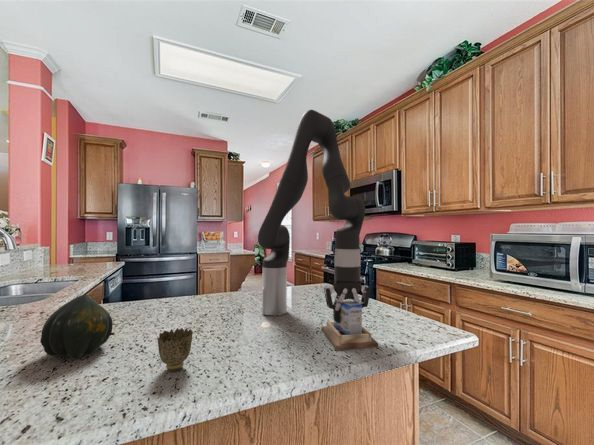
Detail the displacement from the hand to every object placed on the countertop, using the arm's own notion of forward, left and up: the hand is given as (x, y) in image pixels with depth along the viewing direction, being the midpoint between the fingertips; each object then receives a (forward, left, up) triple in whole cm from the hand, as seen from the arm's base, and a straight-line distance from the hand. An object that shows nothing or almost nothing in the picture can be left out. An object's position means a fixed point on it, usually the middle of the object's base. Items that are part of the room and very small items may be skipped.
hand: (347, 321), depth 83 cm
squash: (-72, +2, -5) cm, 72 cm away
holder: (0, 0, -5) cm, 5 cm away
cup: (-45, -11, -5) cm, 47 cm away
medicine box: (0, 0, -3) cm, 3 cm away
